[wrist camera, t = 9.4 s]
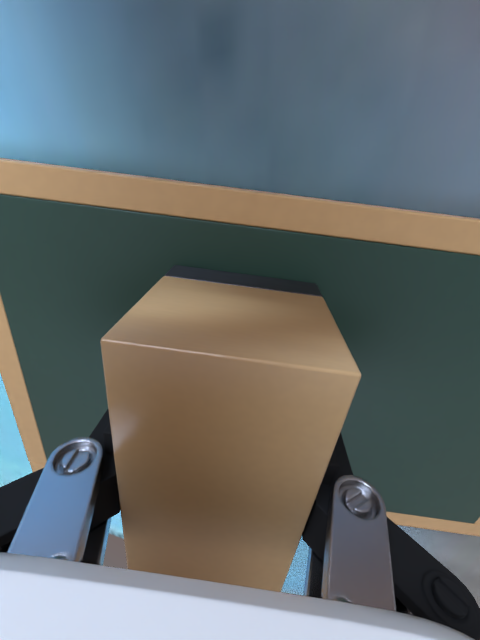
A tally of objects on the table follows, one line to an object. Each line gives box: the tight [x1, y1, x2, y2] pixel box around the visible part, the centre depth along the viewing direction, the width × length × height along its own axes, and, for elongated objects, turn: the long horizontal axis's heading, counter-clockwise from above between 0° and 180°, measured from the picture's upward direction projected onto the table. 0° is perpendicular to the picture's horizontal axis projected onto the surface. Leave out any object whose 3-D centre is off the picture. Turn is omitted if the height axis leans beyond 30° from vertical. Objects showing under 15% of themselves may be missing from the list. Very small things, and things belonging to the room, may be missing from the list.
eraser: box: [100, 265, 361, 592], centre depth 10 cm, size 5×10×5 cm, turn 174°
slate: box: [0, 158, 480, 536], centre depth 12 cm, size 24×15×1 cm, turn 84°
